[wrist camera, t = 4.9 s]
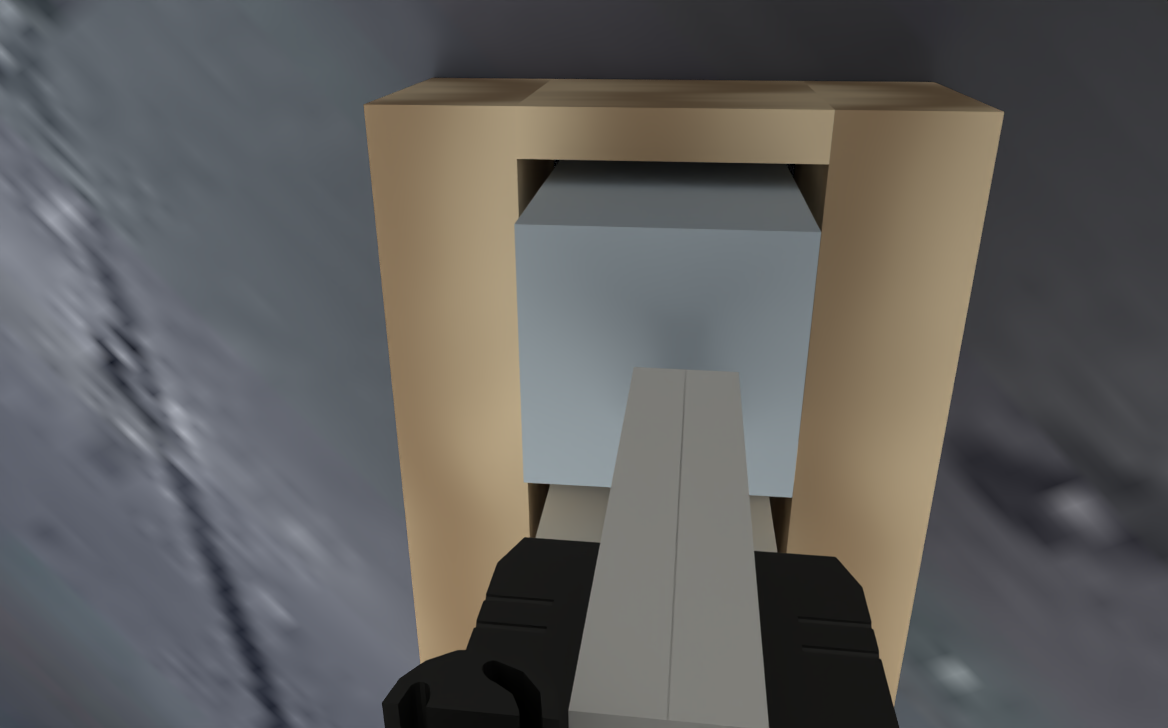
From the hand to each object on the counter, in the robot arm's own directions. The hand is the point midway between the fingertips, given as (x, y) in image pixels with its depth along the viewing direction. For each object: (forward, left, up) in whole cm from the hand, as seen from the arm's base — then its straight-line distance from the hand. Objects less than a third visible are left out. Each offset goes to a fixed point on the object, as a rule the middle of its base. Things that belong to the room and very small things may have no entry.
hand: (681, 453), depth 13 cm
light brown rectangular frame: (0, +7, -11) cm, 13 cm away
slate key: (0, 0, -10) cm, 10 cm away
